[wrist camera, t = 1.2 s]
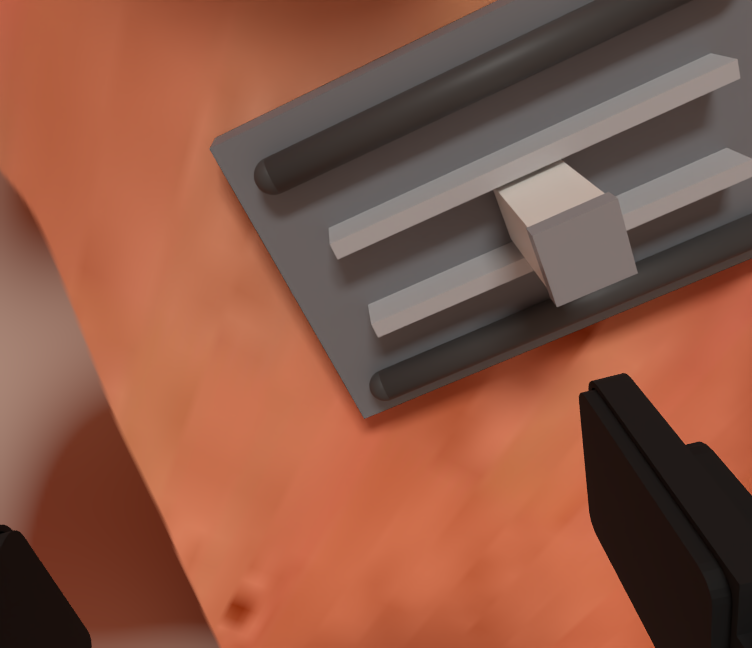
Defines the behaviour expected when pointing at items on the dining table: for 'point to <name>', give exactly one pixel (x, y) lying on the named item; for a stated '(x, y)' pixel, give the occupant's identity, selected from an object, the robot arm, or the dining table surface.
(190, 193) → the dining table surface
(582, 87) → the breaker panel
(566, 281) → the knob
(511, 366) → the dining table surface
